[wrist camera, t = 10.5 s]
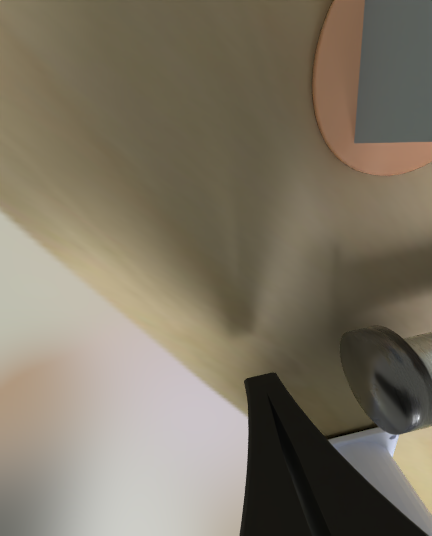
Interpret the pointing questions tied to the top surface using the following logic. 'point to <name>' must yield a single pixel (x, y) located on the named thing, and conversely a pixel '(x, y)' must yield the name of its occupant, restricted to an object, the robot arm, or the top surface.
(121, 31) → the top surface
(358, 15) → the plate
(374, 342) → the rod
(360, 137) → the block
